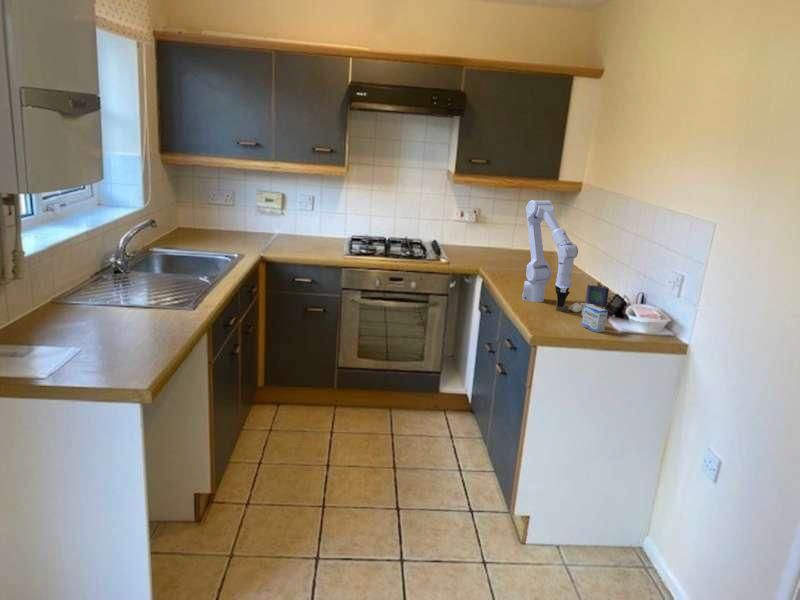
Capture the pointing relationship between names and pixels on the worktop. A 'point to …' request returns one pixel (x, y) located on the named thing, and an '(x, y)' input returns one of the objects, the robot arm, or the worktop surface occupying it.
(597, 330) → the medicine box
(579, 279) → the worktop surface
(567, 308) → the kicker
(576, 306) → the ball
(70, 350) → the worktop surface
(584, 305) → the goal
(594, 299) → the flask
